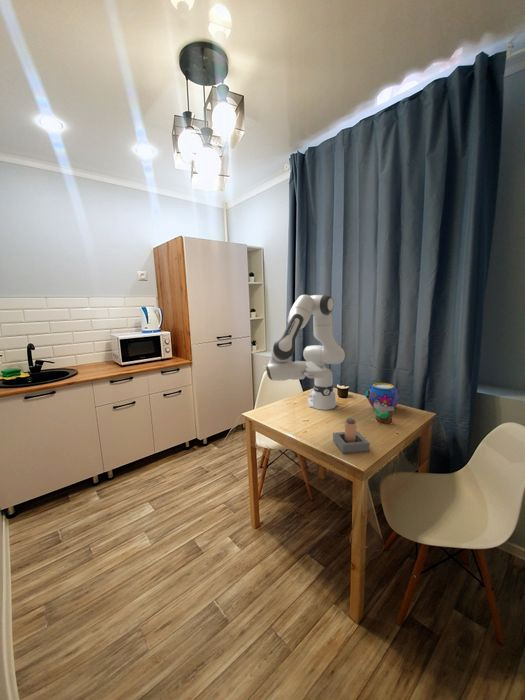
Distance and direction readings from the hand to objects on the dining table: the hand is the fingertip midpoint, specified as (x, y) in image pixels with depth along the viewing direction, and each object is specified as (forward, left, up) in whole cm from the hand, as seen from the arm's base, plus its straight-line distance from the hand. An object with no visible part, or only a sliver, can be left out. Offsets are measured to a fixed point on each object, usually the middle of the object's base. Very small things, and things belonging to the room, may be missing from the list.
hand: (326, 368), depth 137 cm
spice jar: (+17, +5, -33) cm, 37 cm away
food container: (-5, +32, -33) cm, 47 cm away
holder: (+17, +5, -33) cm, 37 cm away
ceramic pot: (-21, +42, -33) cm, 58 cm away
